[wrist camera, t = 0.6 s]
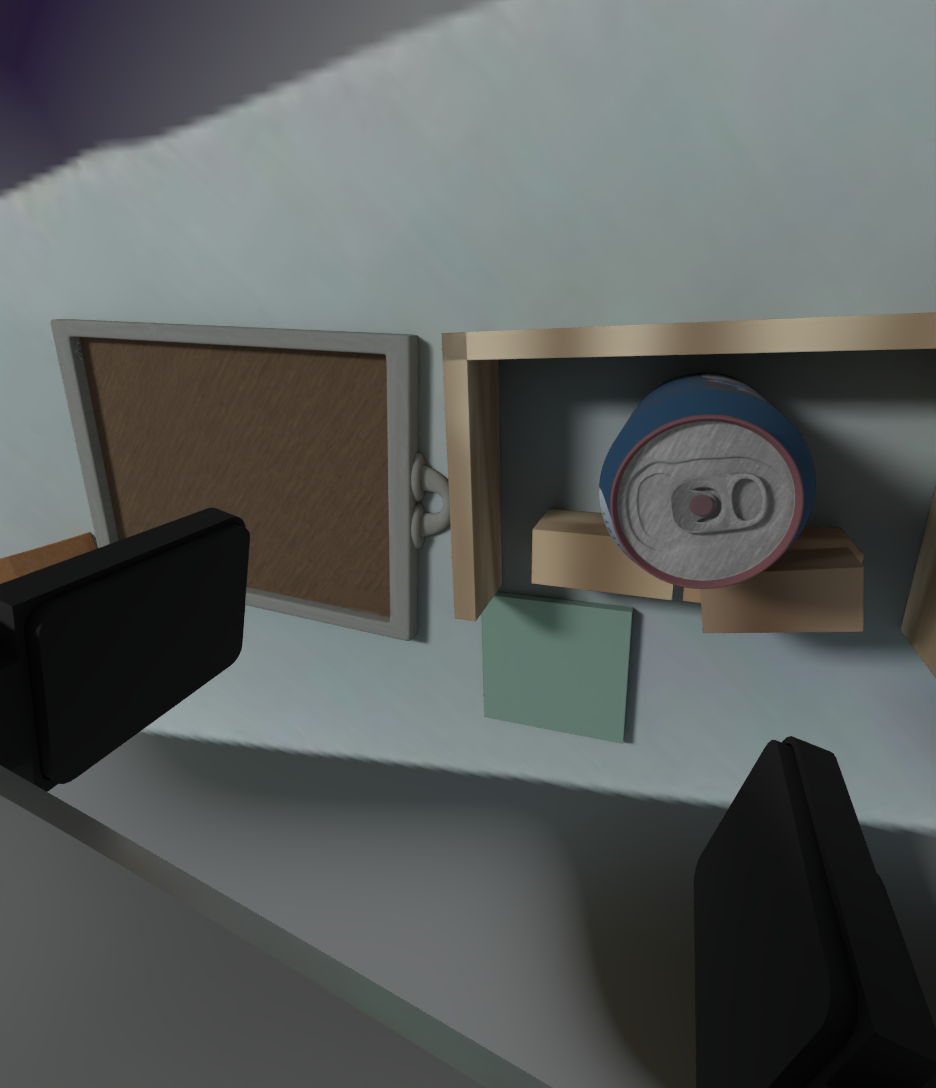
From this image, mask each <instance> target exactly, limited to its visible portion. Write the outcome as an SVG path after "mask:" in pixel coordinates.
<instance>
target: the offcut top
mask: <svg viewBox="0 0 936 1088" xmlns="http://www.w3.org/2000/svg"><path fill="white" fill-rule="evenodd" d="M700 596H701V609H702V623H703V633H769V632H863V600H864V567H863V566H862V564H861V563H860V562H859V560H858V559H857V558H856V556H855V555H854V554H853V553H852V551H851V550H850V549H849V547H840V548H822V549H804V550H787V551H786V552H785V553H784V554H783V555H782V556H781V557H780V558H779V559H778V560H777V561H775V562H774V563H773V564H772V565H771V566H770V567H768V568H767V569H766V570H764V571H763V572H761V573H759V574H758V575H756V576H754V577H752V578H750V579H748V580H746V581H743V582H740V583H737V584H734V585H730V586H726V587H721V588H713V589H700Z"/></svg>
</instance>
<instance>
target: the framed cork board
mask: <svg viewBox="0 0 936 1088" xmlns="http://www.w3.org/2000/svg"><path fill="white" fill-rule="evenodd" d="M51 327H52V332H53V337H54V342H55V346H56V351H57V356H58V361H59V365H60V370H61V375H62V380H63V384H64V389H65V394H66V399H67V403H68V408H69V413H70V418H71V422H72V427H73V432H74V437H75V441H76V446H77V451H78V456H79V460H80V465H81V470H82V475H83V479H84V484H85V489H86V494H87V498H88V503H89V508H90V513H91V517H92V522H93V527H94V532H95V536H96V541H97V546H98V548H100V547H103V546H106V545H108V544H111V543H114V542H117V541H119V540H122V539H125V538H128V537H130V536H133V535H136V534H139V533H141V532H144V531H147V530H149V529H152V528H155V527H158V526H160V525H163V524H166V523H169V522H171V521H174V520H177V519H180V518H182V517H185V516H188V515H191V514H193V513H196V512H199V511H202V510H204V509H207V508H212V507H213V508H217V509H220V510H222V511H225V512H227V513H230V514H232V515H235V516H237V517H240V518H241V519H242V520H243V521H244V523H245V527H246V529H247V530H248V531H249V533H250V547H249V560H248V574H247V587H246V600H245V605H249V606H253V607H257V608H262V609H266V610H271V611H275V612H280V613H284V614H289V615H293V616H298V617H302V618H307V619H311V620H316V621H320V622H324V623H329V624H333V625H338V626H342V627H347V628H351V629H356V630H360V631H365V632H369V633H374V634H378V635H383V636H387V637H391V638H396V639H401V640H406V641H410V640H411V639H413V638H414V636H415V635H416V634H417V566H418V549H420V548H421V547H422V545H423V543H424V537H425V536H430V535H433V534H436V533H438V532H440V531H442V530H444V529H445V528H446V527H447V526H448V525H449V524H450V503H449V482H448V481H447V479H446V478H445V477H444V476H442V475H441V474H440V473H439V472H437V471H435V470H434V469H432V468H430V467H428V466H425V460H424V457H423V455H422V454H420V453H418V336H417V335H409V334H389V333H366V332H344V331H321V330H299V329H276V328H254V327H231V326H209V325H186V324H164V323H141V322H119V321H97V320H74V319H54V320H51ZM424 491H430V492H435V493H437V494H439V495H440V496H441V497H442V498H443V502H444V506H443V510H442V511H441V512H439V513H424V508H423V506H422V505H421V504H420V503H418V501H421V500H422V498H423V496H424Z"/></svg>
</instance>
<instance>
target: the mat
mask: <svg viewBox="0 0 936 1088" xmlns="http://www.w3.org/2000/svg"><path fill="white" fill-rule="evenodd" d="M632 613H633V608H632V607H623V606H614V605H606V604H597V603H589V602H580V601H571V600H563V599H554V598H545V597H537V596H528V595H520V594H511V593H502V592H497V593H496V594H495V596H494V597H493V598H492V600H491V601H490V602H489V604H488V605H487V606H486V608H485V609H484V611H483V612H482V613H481V617H482V651H483V686H484V717H488V718H493V719H498V720H503V721H508V722H513V723H519V724H524V725H529V726H534V727H539V728H545V729H550V730H555V731H560V732H565V733H570V734H576V735H581V736H586V737H591V738H596V739H601V740H607V741H612V742H617V743H622V744H623V740H624V728H625V714H626V699H627V685H628V671H629V656H630V642H631V627H632Z"/></svg>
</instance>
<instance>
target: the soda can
mask: <svg viewBox="0 0 936 1088" xmlns="http://www.w3.org/2000/svg"><path fill="white" fill-rule="evenodd" d="M815 488H816V479H815V470H814V465H813V461H812V457H811V454H810V452H809V449H808V447H807V445H806V443H805V441H804V439H803V438H802V436H801V435H800V433H799V432H798V430H797V429H796V428H795V427H794V425H793V424H792V423H791V422H790V421H789V420H788V419H787V418H786V417H785V416H783V415H782V414H781V413H780V412H779V411H778V410H777V409H775V408H774V407H773V406H772V405H771V404H770V403H769V402H767V401H766V400H765V399H764V398H763V397H762V396H761V395H759V394H758V393H757V392H756V391H755V390H754V389H752V388H751V387H750V386H748V385H747V384H745V383H743V382H741V381H739V380H737V379H735V378H732V377H729V376H726V375H722V374H716V373H695V374H688V375H684V376H681V377H678V378H675V379H672V380H670V381H668V382H666V383H664V384H662V385H660V386H659V387H657V388H656V389H654V390H653V391H652V392H651V393H649V394H648V395H647V396H646V397H645V398H644V399H643V400H642V401H641V402H640V404H639V405H638V406H637V408H636V409H635V410H634V412H633V413H632V415H631V417H630V418H629V420H628V421H627V423H626V424H625V426H624V427H623V429H622V430H621V432H620V433H619V435H618V437H617V438H616V440H615V441H614V443H613V444H612V446H611V448H610V450H609V452H608V454H607V456H606V459H605V461H604V464H603V468H602V471H601V476H600V483H599V500H600V507H601V512H602V516H603V519H604V522H605V525H606V527H607V529H608V531H609V533H610V535H611V537H612V538H613V540H614V541H615V543H616V544H617V546H618V547H619V548H620V549H621V550H622V552H623V553H624V554H625V555H626V556H627V557H628V558H630V559H631V560H632V561H633V562H634V563H636V564H637V565H638V566H640V567H641V568H642V569H644V570H645V571H646V572H648V573H649V574H651V575H653V576H654V577H656V578H658V579H660V580H662V581H665V582H667V583H670V584H673V585H676V586H680V587H685V588H692V589H713V588H721V587H726V586H730V585H734V584H737V583H740V582H743V581H746V580H748V579H750V578H752V577H754V576H756V575H758V574H759V573H761V572H763V571H764V570H766V569H767V568H768V567H770V566H771V565H772V564H773V563H774V562H775V561H777V560H778V559H779V558H780V557H781V556H782V555H783V554H784V553H785V552H786V551H787V550H788V549H789V548H790V547H791V546H792V545H793V543H794V542H795V541H796V540H797V538H798V537H799V535H800V534H801V532H802V530H803V529H804V527H805V525H806V523H807V521H808V518H809V516H810V513H811V510H812V506H813V503H814V497H815Z"/></svg>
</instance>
